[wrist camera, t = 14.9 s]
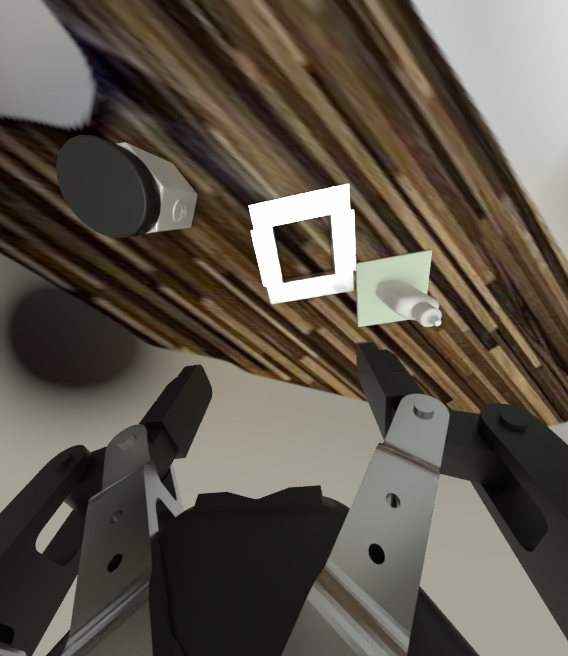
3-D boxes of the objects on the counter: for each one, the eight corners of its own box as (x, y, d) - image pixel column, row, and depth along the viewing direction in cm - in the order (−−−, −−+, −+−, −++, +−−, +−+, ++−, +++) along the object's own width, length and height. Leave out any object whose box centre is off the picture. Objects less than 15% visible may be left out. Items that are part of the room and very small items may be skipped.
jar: (190, 242, 33) (142, 255, 23) (135, 220, 32) (58, 221, 21) (203, 177, 29) (153, 155, 19) (141, 148, 28) (51, 107, 18)
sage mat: (355, 263, 34) (356, 263, 33) (429, 249, 33) (432, 250, 32) (357, 325, 39) (358, 326, 38) (422, 315, 38) (424, 317, 37)
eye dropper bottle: (394, 310, 37) (437, 349, 26) (371, 291, 35) (405, 323, 25) (416, 290, 35) (470, 322, 24) (392, 269, 34) (439, 293, 23)
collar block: (248, 207, 31) (244, 206, 29) (348, 185, 29) (353, 182, 27) (269, 299, 37) (267, 304, 35) (352, 285, 36) (356, 289, 33)
